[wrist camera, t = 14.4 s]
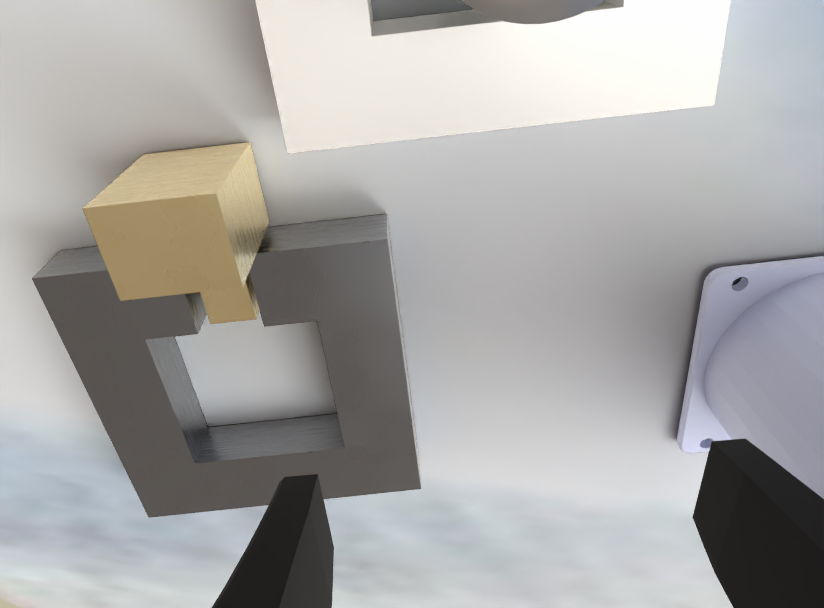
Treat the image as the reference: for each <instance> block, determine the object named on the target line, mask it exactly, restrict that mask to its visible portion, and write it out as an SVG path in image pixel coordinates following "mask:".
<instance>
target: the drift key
mask: <svg viewBox="0 0 824 608" xmlns="http://www.w3.org/2000/svg"><path fill="white" fill-rule="evenodd" d="M82 209H83V211H84V214H85V216H86V218H87V221H88V223H89V226H90V228H91V231H92V233H93V236H94V238H95V240H96V243H97V245H98V248H99V250H100V253H101V255H102V257H103V260H104V262H105V265H106V267H107V270H108V272H109V274H110V277H111V279H112V282H113V284H114V287H115V289H116V291H117V294H118V296H119V299H120V301H124V300H133V299H142V298H151V297H160V296H169V295H178V294H187V293H196V292H200V293H201V296H202V299H203V302H204V305H205V308H206V312H207V315H208V318H209V321H210V324H217V323H226V322H235V321H244V320H253V319H256V318H257V315H258V312H259V306H258V302H257V299H256V295H255V291H254V288H253V284H252V280H251V277H250V273H249V271H250V269H251V266H252V264H253V261H254V259H255V256H256V254H257V252H258V249H259V247H260V244H261V242H262V239H263V237H264V234H265V232H266V229H267V227H268V224H269V218H268V213H267V209H266V205H265V201H264V197H263V193H262V189H261V185H260V180H259V176H258V172H257V168H256V164H255V160H254V156H253V151H252V147H251V143H250V142H247V143H238V144H230V145H221V146H212V147H203V148H194V149H186V150H177V151H168V152H159V153H151V154H143V155H142V156H141V157H140V158H139V159H138V160H137V161H135V162H134V163H133V164H132V165H131V166H130V167H129V168H128V169H126V170H125V171H124V172H123V173H122V174H121V175H120V176H118V177H117V178H116V179H115V180H114V181H113V182H112V183H111V184H109V185H108V186H107V187H106V188H105V189H104V190H103V191H101V192H100V193H99V194H98V195H97V196H96V197H95V198H94V199H92V200H91V201H90V202H89V203H88V204H87V205H86V206H84V207H83V208H82Z"/></svg>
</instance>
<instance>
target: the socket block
mask: <svg viewBox="0 0 824 608" xmlns="http://www.w3.org/2000/svg"><path fill="white" fill-rule="evenodd" d="M249 273H250V277H251V280H252V284H253V288H254V291H255V295H256V299H257V302H258V306H259V310H260V313H261V317H262V321H263V324H264V327H265V326H274V325H283V324H292V323H302V322H311V321H317V322H318V326H319V331H320V336H321V340H322V345H323V349H324V354H325V358H326V363H327V368H328V372H329V377H330V381H331V386H332V391H333V395H334V400H335V404H336V409H337V414H330V415H320V416H311V417H302V418H292V419H283V420H274V421H264V422H255V423H246V424H236V425H227V426H218V427H208V426H207V424H206V421H205V418H204V416H203V413H202V410H201V408H200V405H199V402H198V399H197V397H196V394H195V391H194V389H193V386H192V383H191V381H190V378H189V375H188V373H187V370H186V367H185V364H184V362H183V359H182V356H181V354H180V351H179V348H178V346H177V343H176V340H175V337H174V336H183V335H192V334H198V333H199V330H200V328H201V326H202V324H203V322H204V320H205V318H206V316H207V312H206V308H205V305H204V302H203V299H202V296H201V293H200V292H196V293H187V294H178V295H169V296H160V297H151V298H142V299H133V300H124V301H120V299H119V296H118V294H117V291H116V289H115V287H114V284H113V282H112V279H111V277H110V274H109V272H108V270H107V267H106V265H105V262H104V260H103V257H102V255H101V253H100V250H99V248H98V246H95V247H86V248H77V249H68V250H61V251H60V252H59V253H58V254H57V255H56V256H55V257H54V258H53V259H52V260H51V261H50V262H49V263H47V264H46V265H45V266H44V267H43V268H42V269H41V270H40V271H39V272H38V273H37V274H36V275H35V276H34V277H33V278H32V280H33V282H34V284H35V286H36V288H37V290H38V292H39V294H40V296H41V298H42V300H43V302H44V304H45V306H46V308H47V310H48V312H49V314H50V316H51V319H52V321H53V323H54V325H55V327H56V329H57V331H58V333H59V335H60V337H61V339H62V341H63V343H64V345H65V347H66V349H67V351H68V353H69V355H70V357H71V359H72V361H73V363H74V366H75V368H76V370H77V372H78V374H79V376H80V378H81V380H82V382H83V384H84V386H85V388H86V390H87V392H88V394H89V396H90V398H91V400H92V402H93V404H94V406H95V408H96V411H97V413H98V415H99V417H100V419H101V421H102V423H103V425H104V427H105V429H106V431H107V433H108V435H109V437H110V439H111V441H112V443H113V445H114V447H115V449H116V451H117V453H118V455H119V458H120V460H121V462H122V464H123V466H124V468H125V470H126V472H127V474H128V476H129V478H130V480H131V482H132V484H133V486H134V488H135V490H136V492H137V494H138V496H139V498H140V500H141V502H142V505H143V507H144V509H145V511H146V513H147V515H148V517H158V516H168V515H177V514H187V513H196V512H206V511H215V510H225V509H234V508H244V507H253V506H263V505H269V504H270V502H271V500H272V498H273V496H274V493H275V491H276V489H277V487H278V484H279V482H280V481H281V480H282V479H283V478H284V477H289V476H301V475H313V474H318V477H319V482H320V486H321V491H322V496H323V499H329V498H339V497H348V496H358V495H367V494H377V493H386V492H396V491H405V490H415V489H421V482H420V468H419V455H418V446H417V439H416V431H415V423H414V416H413V408H412V401H411V393H410V385H409V378H408V370H407V363H406V355H405V347H404V340H403V332H402V325H401V317H400V309H399V302H398V294H397V287H396V279H395V272H394V264H393V256H392V249H391V241H390V234H389V226H388V218H387V214H381V215H372V216H363V217H355V218H346V219H337V220H328V221H319V222H310V223H301V224H292V225H283V226H274V227H267V229H266V232H265V234H264V237H263V239H262V242H261V244H260V247H259V249H258V252H257V254H256V256H255V259H254V261H253V264H252V266H251V269H250V271H249Z"/></svg>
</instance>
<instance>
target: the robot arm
mask: <svg viewBox="0 0 824 608" xmlns="http://www.w3.org/2000/svg"><path fill="white" fill-rule="evenodd" d="M739 277H742V279H741V281H740V282H738V283H737V284H735V285H732V283H733V281H734V280H736V279H737V278H739ZM704 439H705V440H704ZM677 444H678V445H679V447H680V449H681V450H682V451H683V452H685V453H699V452H709V454H708V458H707V462H706V466H705V470H704V474H703V478H702V482H701V486H700V490H699V494H698V498H697V502H696V506H695V510H694V514H693V519H694V522H695V524H696V527H697V529H698V532H699V535H700V537H701V540H702V542H703V545H704V548H705V550H706V552H707V555H708V557H709V560H710V562H711V565H712V567H713V569H714V572H715V574H716V576H717V578H718V579H719V581H720V583H721V585H722V587H723V589H724V591H725V593H726V595H727V596H728V598H729V600H730V602H731V604H732V606H733V608H824V256H818V257H809V258H800V259H791V260H782V261H773V262H764V263H754V264H745V265H736V266H727V267H720V268H717V269H715V270H713V271H711V272H710V273H709V274H708V275H707V276H706V278H705V281H704V285H703V291H702V297H701V302H700V308H699V314H698V320H697V326H696V331H695V337H694V343H693V349H692V355H691V360H690V366H689V372H688V378H687V384H686V389H685V395H684V401H683V407H682V413H681V418H680V424H679V430H678V436H677ZM333 553H334V546H333V542H332V537H331V532H330V528H329V523H328V519H327V514H326V509H325V505H324V500H323V496H322V491H321V486H320V482H319V477H318V474H313V475H301V476H289V477H284V478H283V479H282V480H281V481H280V482H279V484H278V487H277V489H276V491H275V493H274V496H273V498H272V500H271V502H270V504H269V506H268V508H267V510H266V512H265V514H264V516H263V518H262V520H261V522H260V524H259V526H258V528H257V530H256V532H255V534H254V535H253V537H252V539H251V541H250V543H249V545H248V547H247V549H246V550H245V552H244V554H243V556H242V557H241V559H240V561H239V563H238V564H237V566H236V568H235V570H234V571H233V573H232V575H231V577H230V578H229V580H228V582H227V584H226V585H225V587H224V589H223V590H222V592H221V594H220V595H219V597H218V599H217V600H216V602H215V603H214V605H213V606H212V608H331V607H332V587H333Z"/></svg>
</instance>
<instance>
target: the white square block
mask: <svg viewBox="0 0 824 608" xmlns="http://www.w3.org/2000/svg"><path fill="white" fill-rule="evenodd" d="M255 2H256V7H257V11H258V16H259V21H260V26H261V30H262V35H263V40H264V45H265V49H266V54H267V59H268V63H269V68H270V73H271V78H272V82H273V87H274V92H275V96H276V101H277V106H278V111H279V115H280V120H281V125H282V130H283V134H284V139H285V144H286V148H287V153H288V154H290V153H299V152H307V151H316V150H325V149H334V148H343V147H352V146H360V145H369V144H378V143H387V142H396V141H404V140H413V139H422V138H431V137H440V136H448V135H457V134H466V133H475V132H484V131H492V130H501V129H510V128H519V127H528V126H536V125H545V124H554V123H563V122H572V121H580V120H589V119H598V118H607V117H616V116H625V115H633V114H642V113H651V112H660V111H669V110H677V109H686V108H695V107H704V106H713V105H715V98H716V92H717V86H718V79H719V73H720V66H721V60H722V54H723V47H724V41H725V34H726V28H727V21H728V15H729V9H730V2H731V0H605V1H603V2H602V3H600V4H598V5H597V6H595V7H593V8H592V9H590V10H588V11H585V12H583V13H581V14H579V15H577V16H574V17H571V18H567V19H564V20H561V21H557V22H551V23H545V24H518V23H510V22H505V21H502V20H498V19H495V18H491V17H489V16H487V15H485V14H483V13H480V12H478V11H476V10H465V11H456V12H448V13H439V14H431V15H422V16H413V17H405V18H396V19H388V20H379V21H373V15H372V6H371V0H255Z"/></svg>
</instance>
